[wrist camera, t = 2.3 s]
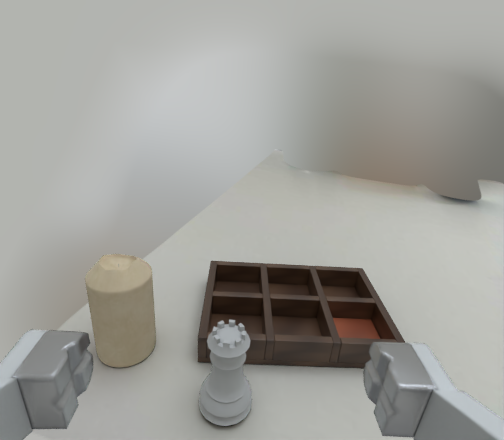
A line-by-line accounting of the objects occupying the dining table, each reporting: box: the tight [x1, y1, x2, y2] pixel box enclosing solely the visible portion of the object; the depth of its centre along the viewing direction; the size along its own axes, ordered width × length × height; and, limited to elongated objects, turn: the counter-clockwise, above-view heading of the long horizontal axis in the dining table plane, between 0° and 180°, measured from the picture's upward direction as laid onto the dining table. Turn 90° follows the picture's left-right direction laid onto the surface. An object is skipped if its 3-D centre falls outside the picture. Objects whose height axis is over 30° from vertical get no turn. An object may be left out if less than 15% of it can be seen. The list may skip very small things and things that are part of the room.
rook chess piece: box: [199, 319, 252, 426], centre depth 27 cm, size 4×4×8 cm
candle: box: [85, 254, 156, 367], centre depth 31 cm, size 6×6×10 cm
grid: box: [198, 261, 405, 368], centre depth 38 cm, size 20×13×3 cm
